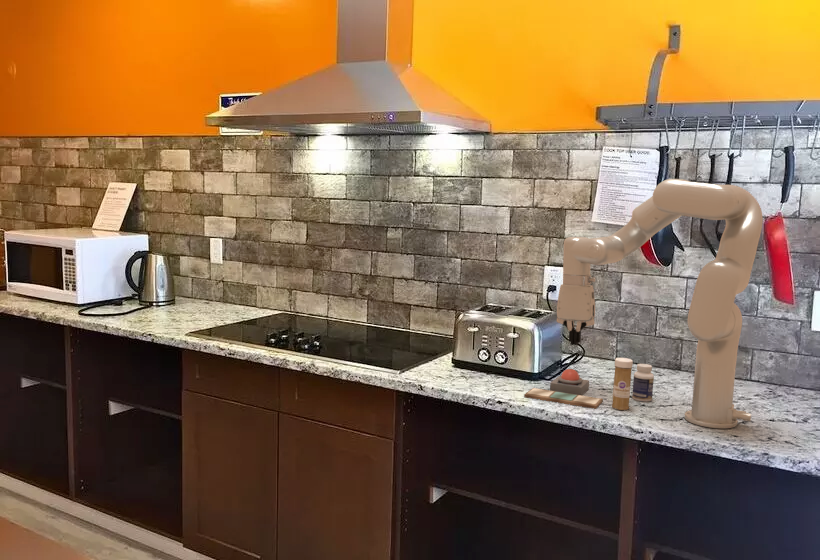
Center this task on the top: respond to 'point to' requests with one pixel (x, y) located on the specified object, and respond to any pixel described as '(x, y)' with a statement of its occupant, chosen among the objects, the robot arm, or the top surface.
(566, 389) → the button housing
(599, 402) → the board
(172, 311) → the top surface
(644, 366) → the pill bottle
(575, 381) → the dome button
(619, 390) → the sprinkles bottle
